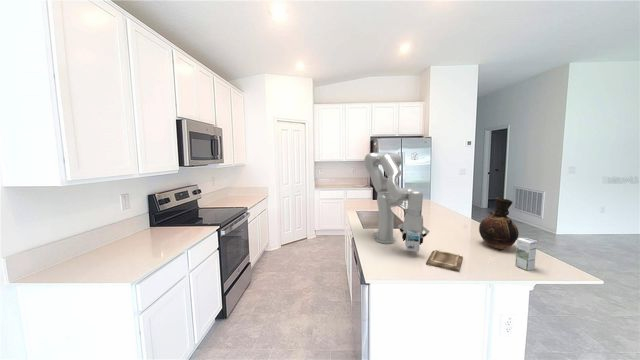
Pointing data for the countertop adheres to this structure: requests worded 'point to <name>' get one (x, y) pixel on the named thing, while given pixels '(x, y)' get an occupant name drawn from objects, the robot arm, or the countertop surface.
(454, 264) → the brown shallow tray
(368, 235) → the countertop surface
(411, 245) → the light bulb box
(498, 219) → the ceramic vessel
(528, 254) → the syrup box
